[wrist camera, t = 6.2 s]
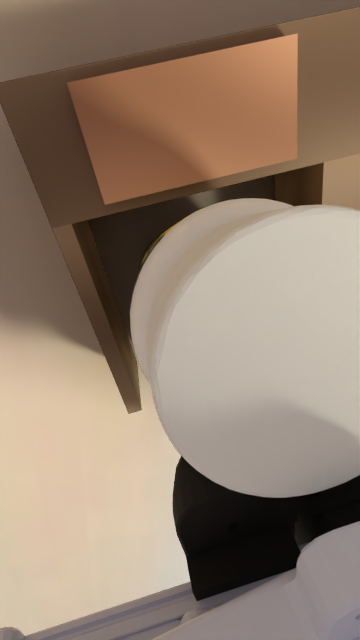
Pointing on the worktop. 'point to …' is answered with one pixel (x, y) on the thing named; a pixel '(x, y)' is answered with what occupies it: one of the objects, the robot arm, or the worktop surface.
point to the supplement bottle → (256, 343)
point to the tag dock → (188, 138)
